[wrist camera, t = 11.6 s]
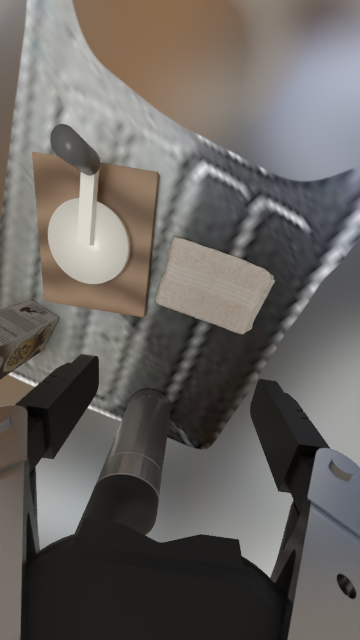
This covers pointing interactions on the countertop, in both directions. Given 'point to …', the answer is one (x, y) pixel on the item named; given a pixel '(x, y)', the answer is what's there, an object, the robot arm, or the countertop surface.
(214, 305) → the washcloth
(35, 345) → the coffee box
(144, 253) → the dial board
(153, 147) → the countertop surface
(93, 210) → the dial
